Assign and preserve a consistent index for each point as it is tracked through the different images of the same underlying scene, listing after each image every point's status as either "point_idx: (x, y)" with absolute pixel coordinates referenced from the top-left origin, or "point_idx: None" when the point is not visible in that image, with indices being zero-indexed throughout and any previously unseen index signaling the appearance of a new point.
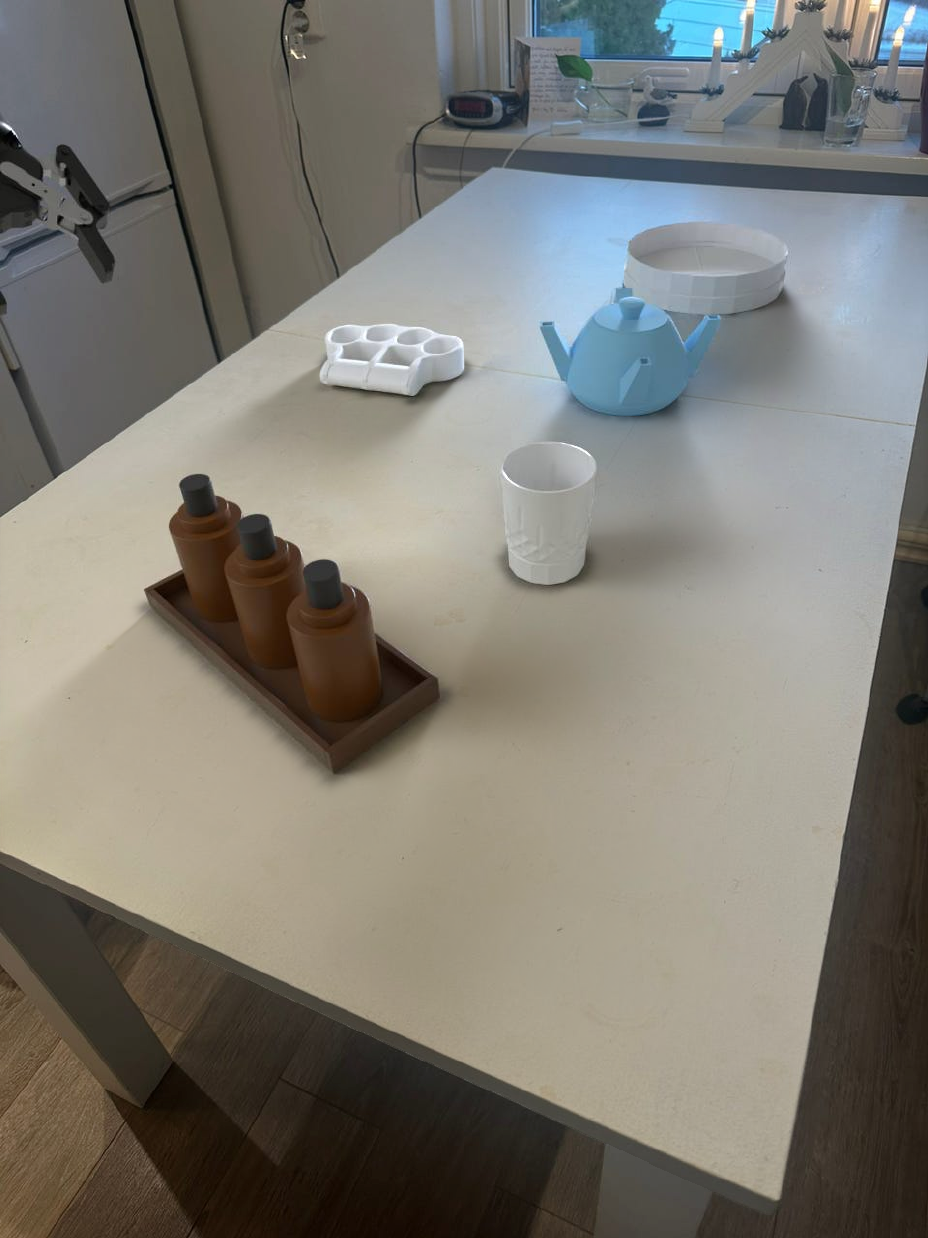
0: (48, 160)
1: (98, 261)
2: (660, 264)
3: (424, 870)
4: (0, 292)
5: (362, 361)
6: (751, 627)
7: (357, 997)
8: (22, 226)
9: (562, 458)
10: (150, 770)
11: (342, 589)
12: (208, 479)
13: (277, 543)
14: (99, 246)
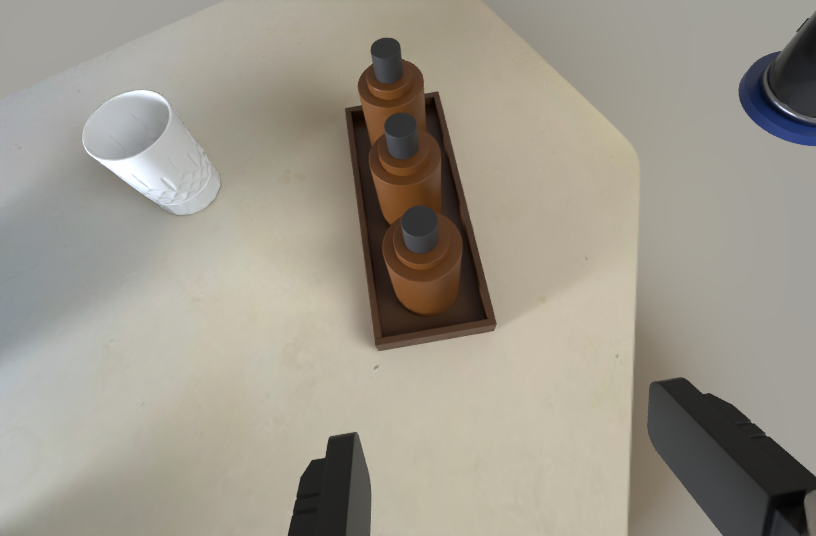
0: None
1: (355, 462)
2: None
3: (428, 41)
4: (669, 389)
5: None
6: (159, 77)
7: (487, 11)
8: None
9: (98, 152)
10: (542, 162)
11: (373, 75)
12: (404, 217)
13: (385, 148)
14: (322, 491)
